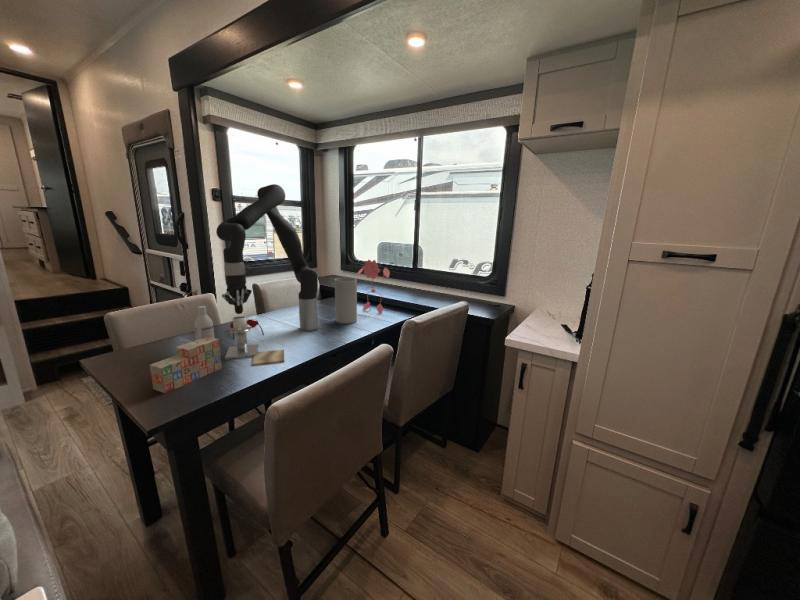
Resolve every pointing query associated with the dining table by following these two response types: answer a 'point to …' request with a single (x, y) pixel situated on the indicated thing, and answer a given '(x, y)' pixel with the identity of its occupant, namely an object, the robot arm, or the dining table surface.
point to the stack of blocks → (187, 364)
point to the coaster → (268, 357)
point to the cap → (239, 323)
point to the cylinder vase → (346, 300)
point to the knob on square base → (241, 346)
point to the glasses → (250, 323)
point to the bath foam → (203, 324)
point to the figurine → (372, 271)
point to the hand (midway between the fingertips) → (239, 313)
